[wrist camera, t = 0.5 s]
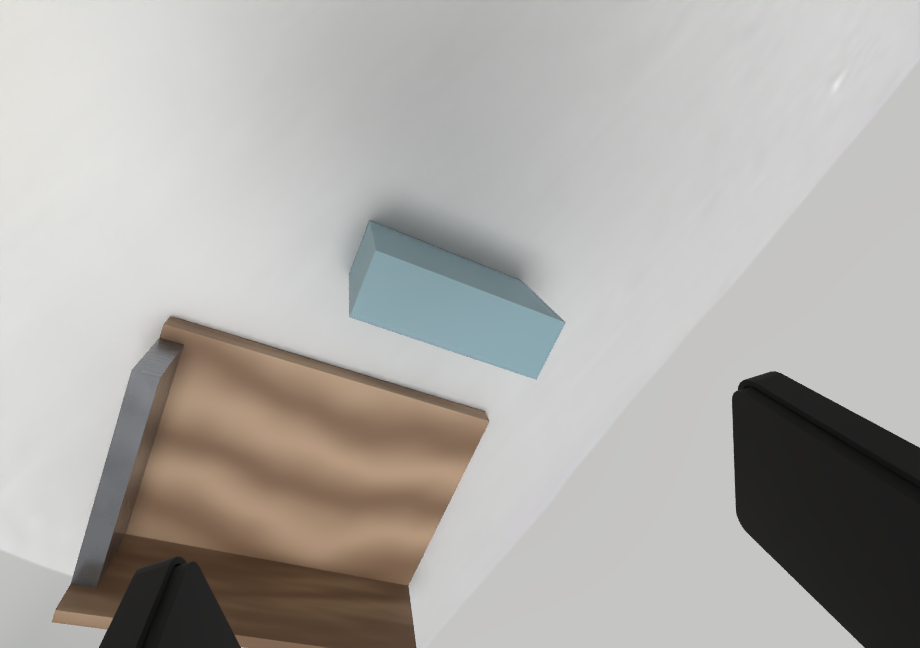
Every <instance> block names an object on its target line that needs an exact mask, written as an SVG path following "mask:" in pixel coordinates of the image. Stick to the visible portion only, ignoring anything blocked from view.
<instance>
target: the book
mask: <svg viewBox="0 0 920 648" xmlns="http://www.w3.org/2000/svg"><path fill="white" fill-rule="evenodd" d="M349 317H351V318H354V319H357V320H360V321H363V322H366V323H369V324H372V325H375V326H378V327H381V328H384V329H387V330H390V331H393V332H396V333H399V334H402V335H405V336H408V337H411V338H414V339H417V340H420V341H423V342H425V343H428V344H431V345H434V346H437V347H440V348H443V349H446V350H449V351H452V352H455V353H458V354H461V355H464V356H467V357H470V358H473V359H476V360H479V361H482V362H485V363H488V364H491V365H494V366H497V367H500V368H503V369H506V370H509V371H512V372H515V373H518V374H521V375H524V376H527V377H530V378H533V379H537V378H538V376H539V374H540V372H541V370H542V368H543V366H544V364H545V362H546V360H547V358H548V356H549V354H550V352H551V350H552V348H553V346H554V344H555V342H556V340H557V338H558V336H559V334H560V332H561V330H562V328H563V326H564V325H565V323H566V322H565V321H564V320H562V319H561V318H560V317H559V316H558V315H557V314H556V313H555V312H554V311H553V310H552V309H551V308H550V307H549V306H548V305H547V304H546V303H544V302H543V301H542V300H541V299H540V298H539V297H538V296H537V295H536V294H535V293H534V292H533V291H532V290H531V289H530V288H529V287H528V286H526V285H525V284H524V283H523V282H522V281H521V280H518V279H516V278H513V277H511V276H508V275H506V274H503V273H501V272H498V271H496V270H493V269H491V268H488V267H485V266H483V265H480V264H478V263H475V262H473V261H470V260H468V259H465V258H463V257H460V256H458V255H455V254H453V253H450V252H448V251H445V250H443V249H440V248H438V247H435V246H433V245H430V244H428V243H425V242H423V241H420V240H417V239H415V238H412V237H410V236H407V235H405V234H402V233H400V232H397V231H395V230H392V229H390V228H387V227H385V226H382V225H380V224H377V223H375V222H372V221H370V220H369V223H368V226H367V228H366V231H365V234H364V236H363V239H362V241H361V244H360V247H359V249H358V252H357V254H356V257H355V260H354V262H353V265H352V267H351V270H350V273H349Z"/></svg>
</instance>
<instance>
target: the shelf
mask: <svg viewBox="0 0 920 648" xmlns="http://www.w3.org/2000/svg"><path fill="white" fill-rule="evenodd" d="M488 423H489V419H488V417H487V415H486V413H485V412H484V411H481V410H477V409H474V408H471V407H468V406H464V405H461V404H458V403H454V402H451V401H448V400H445V399H441V398H438V397H435V396H431V395H428V394H425V393H421V392H418V391H415V390H412V389H408V388H405V387H402V386H398V385H395V384H392V383H389V382H385V381H382V380H379V379H375V378H372V377H369V376H366V375H362V374H359V373H356V372H352V371H349V370H346V369H342V368H339V367H336V366H333V365H329V364H326V363H323V362H319V361H316V360H313V359H310V358H306V357H303V356H300V355H296V354H293V353H290V352H287V351H283V350H280V349H277V348H273V347H270V346H267V345H263V344H260V343H257V342H254V341H250V340H247V339H244V338H240V337H237V336H234V335H231V334H227V333H224V332H221V331H217V330H214V329H211V328H207V327H204V326H201V325H198V324H194V323H191V322H188V321H184V320H181V319H178V318H175V317H170V318H169V319H168V320H167V321H166V322H165V323H164V325H163V329H162V332H161V335H160V338H159V339H158V340H157V342H156V343H155V344H154V345H153V346H152V347H151V348H150V350H149V351H148V352H147V353H146V354H145V355H144V357H143V358H142V359H141V360H140V361H139V362H138V364H137V365H136V366H135V367H134V368H133V369H132V371H131V375H130V378H129V382H128V385H127V389H126V392H125V396H124V399H123V403H122V406H121V410H120V413H119V417H118V420H117V424H116V427H115V431H114V434H113V438H112V441H111V445H110V448H109V452H108V455H107V459H106V462H105V466H104V469H103V473H102V476H101V480H100V483H99V487H98V490H97V494H96V497H95V501H94V504H93V508H92V511H91V515H90V518H89V522H88V525H87V529H86V532H85V536H84V539H83V543H82V546H81V550H80V553H79V557H78V560H77V564H76V568H75V571H74V575H73V578H72V582H71V585H70V586H69V588H68V590H67V591H66V593H65V595H64V596H63V598H62V600H61V601H60V603H59V605H58V606H57V608H56V610H55V613H54V617H53V620H52V622H55V623H62V624H70V625H78V626H85V627H94V628H100V629H108V628H109V626H110V624H111V621H112V619H113V617H114V615H115V613H116V611H117V609H118V607H119V605H120V603H121V601H122V599H123V596H124V594H125V592H126V590H127V588H128V586H129V584H130V582H131V580H132V578H133V576H134V574H135V573H136V571H137V570H138V569H140V568H141V567H144V566H147V565H150V564H154V563H157V562H160V561H163V560H167V559H170V558H173V557H176V556H178V557H182V558H183V559H185V561H186V562H187V563H189V562H196V563H197V564H198V565H199V567H200V569H201V571H202V573H203V574H204V576H205V578H206V580H207V582H208V584H209V586H210V588H211V590H212V592H213V594H214V596H215V598H216V600H217V602H218V604H219V606H220V608H221V610H222V612H223V614H224V616H225V617H226V619H227V621H228V623H229V625H230V627H231V629H232V631H233V633H234V635H235V637H236V639H237V641H238V643H239V645H240V647H244V648H416V642H415V634H414V626H413V618H412V611H411V603H410V595H409V587H408V585H409V583H410V581H411V579H412V577H413V575H414V573H415V571H416V569H417V567H418V565H419V563H420V561H421V559H422V557H423V555H424V553H425V551H426V549H427V547H428V545H429V543H430V541H431V539H432V537H433V535H434V533H435V531H436V528H437V526H438V524H439V522H440V520H441V518H442V516H443V514H444V512H445V510H446V508H447V506H448V504H449V502H450V500H451V498H452V496H453V494H454V492H455V490H456V488H457V486H458V484H459V482H460V480H461V478H462V476H463V474H464V472H465V470H466V468H467V466H468V464H469V462H470V460H471V458H472V456H473V454H474V451H475V449H476V447H477V445H478V443H479V441H480V439H481V437H482V435H483V433H484V431H485V429H486V427H487V425H488Z"/></svg>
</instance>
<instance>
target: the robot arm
mask: <svg viewBox="0 0 920 648" xmlns="http://www.w3.org/2000/svg"><path fill="white" fill-rule="evenodd" d="M732 411H733V412H732V413H733V440H734V468H735V494H736V495H735V497H736V513H737V517H738V519H739V522H740V524H741V525H742V527H743V528H744V530H745V531H746V532H747V533H748V534H749V535H750V536H751V537H752V538H753V539H754V540H755V541H756V542H757V543H758V544H759V545H760V546H761V547H762V548H763V549H764V550H765V551H766V552H767V553H769V555H771V557H772V558H773V559H775V560H776V561H777V562H778V563H779V564H780V565H781V566H782V567H783V568H784V569H785V570H786V571H787V572H788V573H789V574H790V575H791V576H792V577H793V578H794V579H795V580H796V581H797V582H798V583H799V584H800V585H801V586H802V587H803V588H804V589H805V590H806V591H807V592H808V593H810V595H811V596H812V597H814V599H815V600H816V601H817V602H819V603H820V604H821V605H822V606H823V607H824V608H825V609H826V610H827V611H828V612H829V613H830V614H831V615H832V616H833V617H834V618H835V619H836V620H837V621H838V622H839V623H840V624H841V625H842V626H843V627H844V628H845V629H846V630H847V631H848V632H849V633H851V635H852V636H853V637H854V638H856V639H857V641H858V642H859V643H860V644H862V645H863V646H864V647H865V648H920V448H919V447H917V446H915V445H914V444H912V443H909V442H908V441H906V440H904V439H902V438H900V437H899V436H897V435H895V434H893V433H891V432H889V431H887V430H885V429H884V428H882V427H880V426H878V425H876V424H874V423H873V422H871V421H869V420H867V419H865V418H863V417H861V416H859V415H858V414H855V413H854V412H852V411H850V410H848V409H846V408H845V407H843V406H841V405H839V404H837V403H835V402H833V401H832V400H830V399H828V398H826V397H824V396H822V395H820V394H819V393H816V392H815V391H813V390H811V389H809V388H807V387H805V386H804V385H802V384H800V383H798V382H796V381H794V380H792V379H791V378H788V377H787V376H785V375H783V374H781V373H778V372H775V371H774V372H769V373H765V374H762V375H759V376H755V377H752V378H749V379H746V380H743V381H742V382H741V383H740V384H739V386H738V391H736V392H735V393H734V394H733V397H732ZM99 648H241V647H240V645H239V643H238V641H237V639H236V637H235V635H234V633H233V631H232V629H231V627H230V625H229V623H228V621H227V619H226V617H225V616H224V614H223V612H222V610H221V608H220V606H219V604H218V602H217V600H216V598H215V596H214V594H213V592H212V590H211V588H210V586H209V584H208V582H207V580H206V578H205V576H204V574H203V573H202V571H201V569H200V567H199V565H198V564H197V563H196V562H189V563H187V562H186V561H185V559H183V558H182V557H178V556H176V557H173V558H170V559H167V560H163V561H160V562H157V563H154V564H150V565H147V566H144V567H141V568H140V569H138V570H137V571H136V573H135V574H134V576H133V578H132V580H131V582H130V584H129V586H128V588H127V590H126V592H125V594H124V596H123V599H122V601H121V603H120V605H119V607H118V609H117V611H116V613H115V615H114V617H113V619H112V621H111V624H110V626H109V628H108V630H107V632H106V634H105V636H104V638H103V640H102V642H101V644H100V646H99Z"/></svg>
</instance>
